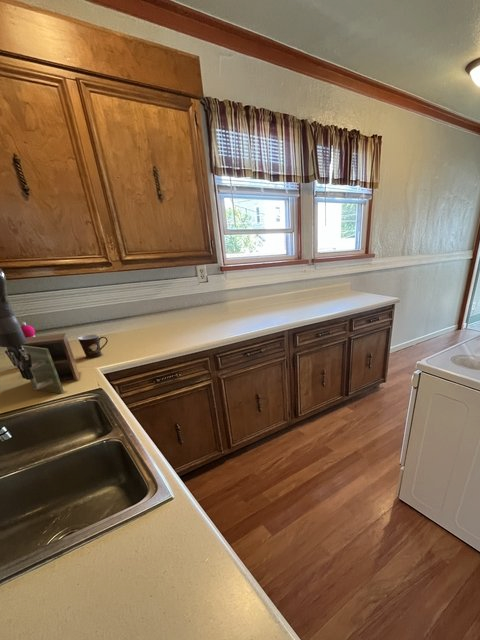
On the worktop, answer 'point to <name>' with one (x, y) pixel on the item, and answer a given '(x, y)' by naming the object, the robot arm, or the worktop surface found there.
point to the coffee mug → (91, 345)
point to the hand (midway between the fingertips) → (28, 378)
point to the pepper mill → (27, 330)
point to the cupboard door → (43, 370)
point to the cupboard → (58, 355)
